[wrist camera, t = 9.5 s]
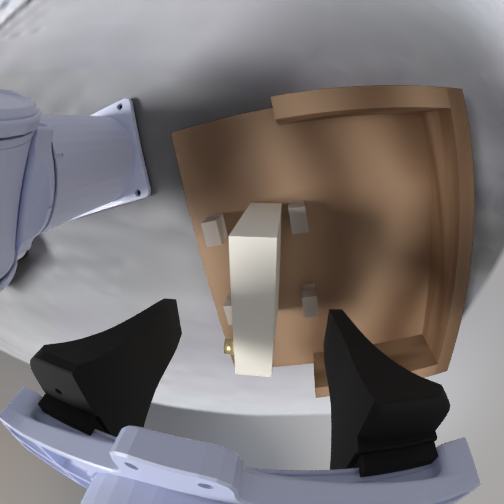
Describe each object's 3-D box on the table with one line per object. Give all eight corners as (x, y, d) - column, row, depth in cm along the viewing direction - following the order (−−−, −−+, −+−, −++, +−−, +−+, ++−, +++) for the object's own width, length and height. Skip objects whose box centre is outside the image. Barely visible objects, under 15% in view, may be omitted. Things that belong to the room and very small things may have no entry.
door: (241, 307, 21) (221, 372, 15) (238, 202, 18) (209, 235, 12) (278, 309, 21) (271, 377, 14) (281, 203, 18) (276, 237, 11)
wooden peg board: (237, 360, 25) (226, 401, 20) (177, 133, 18) (142, 131, 13) (426, 333, 21) (447, 370, 17) (424, 98, 15) (462, 89, 10)
